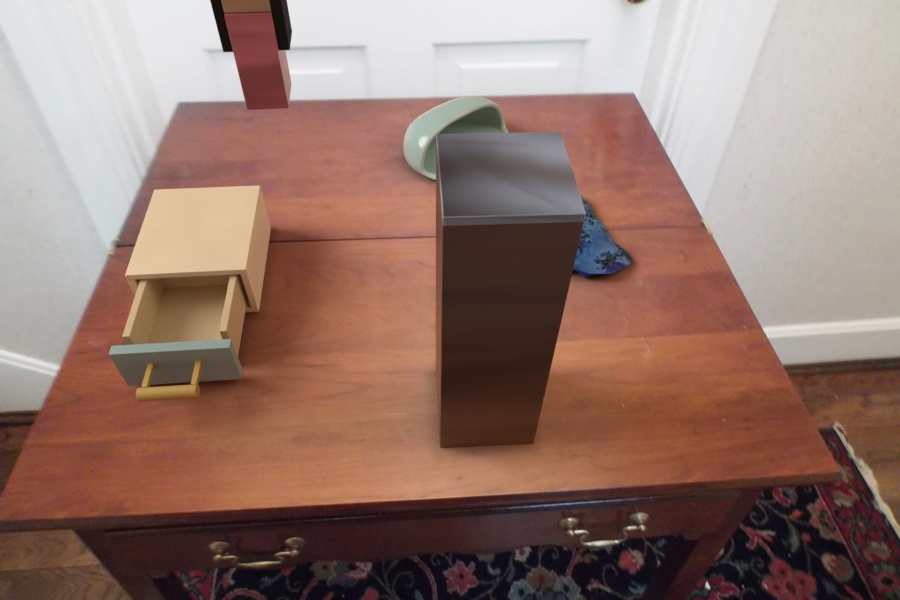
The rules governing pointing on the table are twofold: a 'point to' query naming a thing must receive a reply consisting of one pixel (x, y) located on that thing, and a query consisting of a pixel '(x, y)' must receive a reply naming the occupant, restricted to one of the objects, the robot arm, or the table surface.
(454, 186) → the stand
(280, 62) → the doll
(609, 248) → the rock
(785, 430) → the table surface
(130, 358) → the drawer
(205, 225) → the cabinet
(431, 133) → the planter
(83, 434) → the table surface
